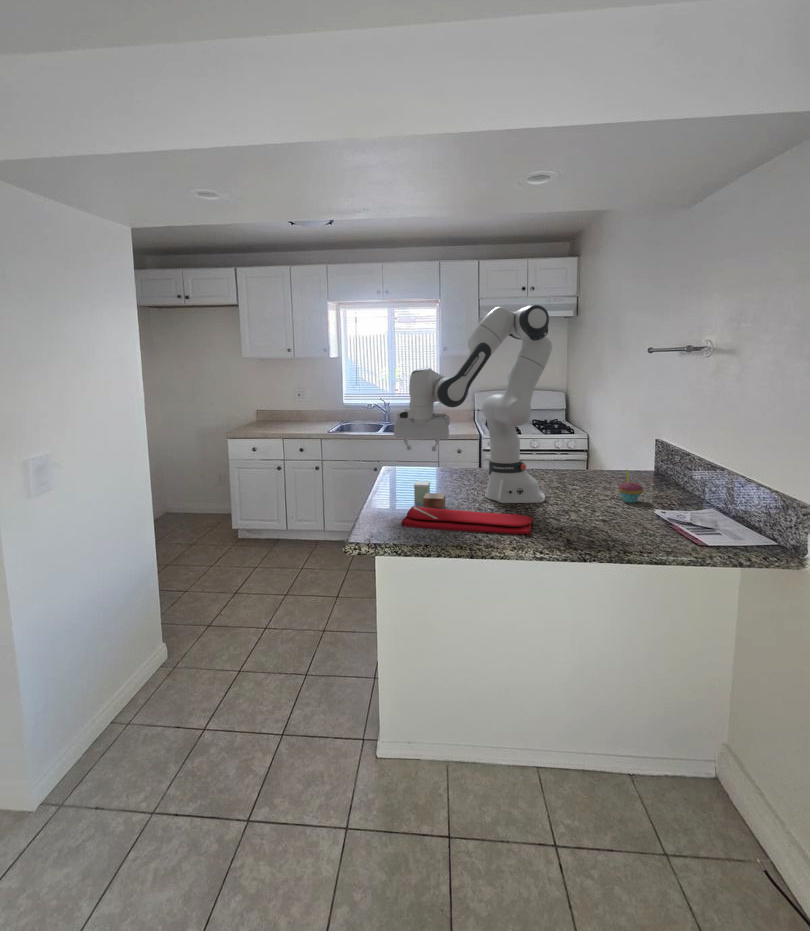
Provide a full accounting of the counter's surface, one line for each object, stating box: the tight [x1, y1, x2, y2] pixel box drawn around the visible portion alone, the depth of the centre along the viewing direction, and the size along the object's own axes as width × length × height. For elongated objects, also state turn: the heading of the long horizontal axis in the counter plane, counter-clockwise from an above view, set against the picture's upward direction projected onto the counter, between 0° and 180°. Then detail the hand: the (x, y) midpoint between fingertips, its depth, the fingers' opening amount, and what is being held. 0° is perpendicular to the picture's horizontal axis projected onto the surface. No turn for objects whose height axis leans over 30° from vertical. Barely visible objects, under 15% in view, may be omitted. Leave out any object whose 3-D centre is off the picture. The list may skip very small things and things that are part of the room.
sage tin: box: [413, 480, 431, 504], centre depth 208 cm, size 5×5×7 cm
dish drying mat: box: [401, 506, 534, 536], centre depth 181 cm, size 16×41×4 cm, turn 75°
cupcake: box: [618, 470, 644, 504], centre depth 204 cm, size 9×8×12 cm
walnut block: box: [422, 492, 446, 509], centre depth 199 cm, size 7×7×5 cm
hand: (421, 450), depth 205 cm, fingers open, 8 cm apart
